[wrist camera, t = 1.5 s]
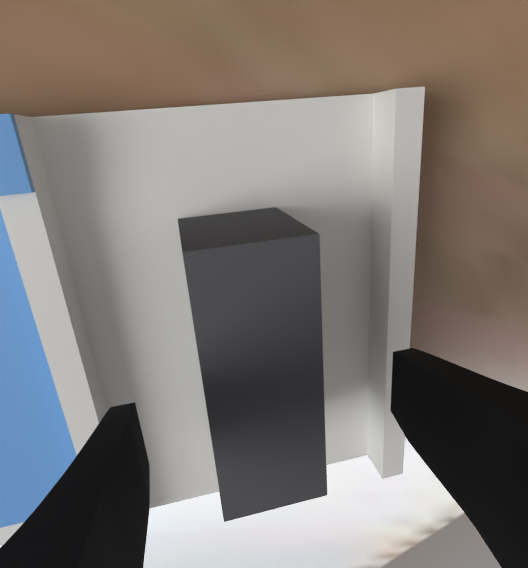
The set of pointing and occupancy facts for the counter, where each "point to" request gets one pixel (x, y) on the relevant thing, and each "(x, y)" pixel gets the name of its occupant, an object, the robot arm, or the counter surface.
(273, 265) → the dark gray rectangular block
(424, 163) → the counter surface
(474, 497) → the robot arm
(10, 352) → the tray
